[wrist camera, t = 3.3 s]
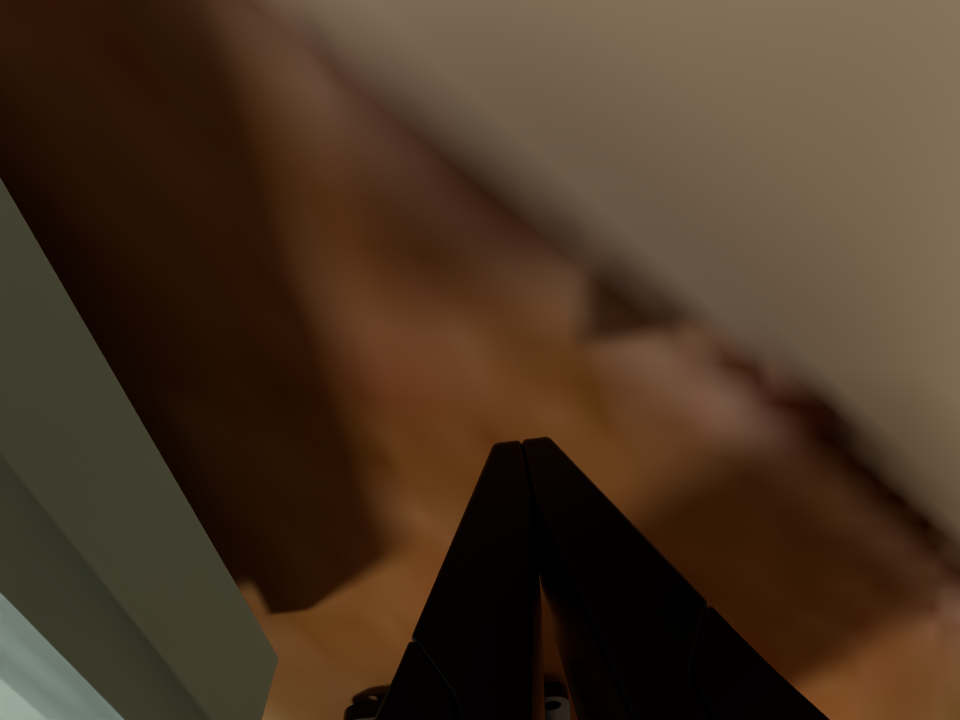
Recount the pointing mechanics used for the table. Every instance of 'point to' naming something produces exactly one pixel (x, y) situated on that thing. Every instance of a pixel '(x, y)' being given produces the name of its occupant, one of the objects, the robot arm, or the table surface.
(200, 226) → the table surface
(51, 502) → the lid
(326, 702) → the table surface
